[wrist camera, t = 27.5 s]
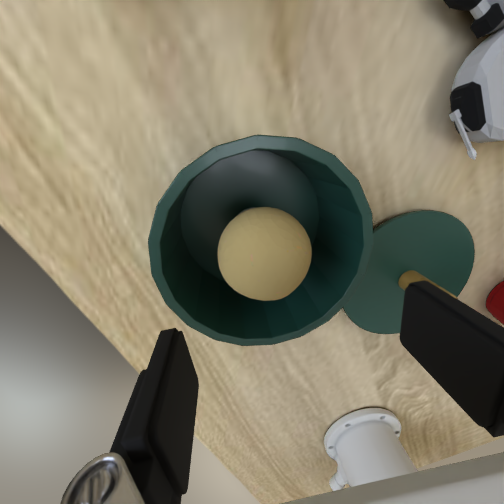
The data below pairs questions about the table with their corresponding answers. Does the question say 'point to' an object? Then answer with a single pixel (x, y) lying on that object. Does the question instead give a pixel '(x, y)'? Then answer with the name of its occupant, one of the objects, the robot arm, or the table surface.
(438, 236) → the green pot lid
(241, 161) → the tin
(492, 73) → the robot toy
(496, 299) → the plastic cup
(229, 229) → the light bulb
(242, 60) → the table surface
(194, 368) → the robot arm
